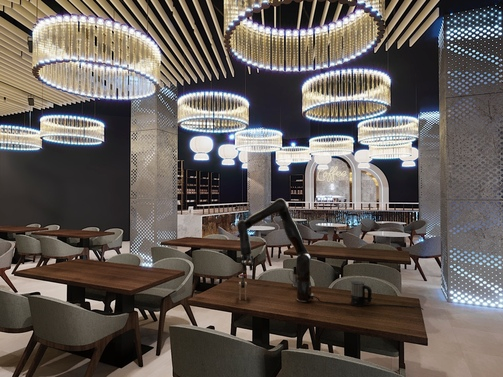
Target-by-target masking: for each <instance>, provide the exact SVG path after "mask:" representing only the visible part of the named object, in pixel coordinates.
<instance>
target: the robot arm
mask: <svg viewBox="0 0 503 377" xmlns="http://www.w3.org/2000/svg"><path fill="white" fill-rule="evenodd" d="M276 213H278V215H279V217H280V219H281V222H282V226H283V230H284V232H285V235H286V237H287V239H288V241H289V242H290V244H291V245H292V246H293V248H294V251H295V253H296V256H297V257H296V266H295V267H296V268H297V287H296V301H298V302H300V303H310V302H311V301H312V300H314V298H315V299H317V300H318V302H320V303H325V304H333V305H334V304H336V305H345V306H346V305H347V306H348V305H349V306H355V305H354V304H351V303H345V302H334V301H322V300H320V299H319V297H317V296H315V295H314V293H312V286H311V270H310V269H311V267H310V264H311V261H312V257H311V255H310V254H309V251H308V249H307V247H306V245H305V244H304V242H303V239H302V236H301V234H300V231H299V228H298V227H297V224H296V222H295V221H294V219H293V217H292V216H291V213H290V210H289V206H288V203H287V201H286V200H285V199H284V198H277V199H276V200H274V201H273V202H272V203H271V204H270V205H268V206H267V207H265V208H263V209H261V210H259V211H257V212H255V213H253V214H251V215H249V216H248V218H247V219H245V220H244V219H240V220H238V222H237V223H236V224H237V225H236V227H237V228H236V229H237V231H238V236H239V247H240V248H239V249H240V254H241V255H240V256H239V258H240V259H239V260H240V262H239V263H240V265H242V270H243V271H244V272H245V271H247V270H248V269H247V264H248V266H249V271H253V270H254V269H253V265H254V264H255V262H254V255H251V254H252V245H251V240H250V234H249V232H248V230H249V229H251V228H252V227H253V226H255V225H257V224H258V223H260V222H262V221H264V220H265V219H266V218H268V217H270V216H272V215H273V214H276ZM363 306H388V307H401V308H402V307H405V308H418V309H421V310H422V311H424V310H425V309H424V308H423V307H422V306H417V305H413V306H411V305H402V304H386V303H385V304H384V303H383V304H382V303H365V304H364V305H363Z"/></svg>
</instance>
